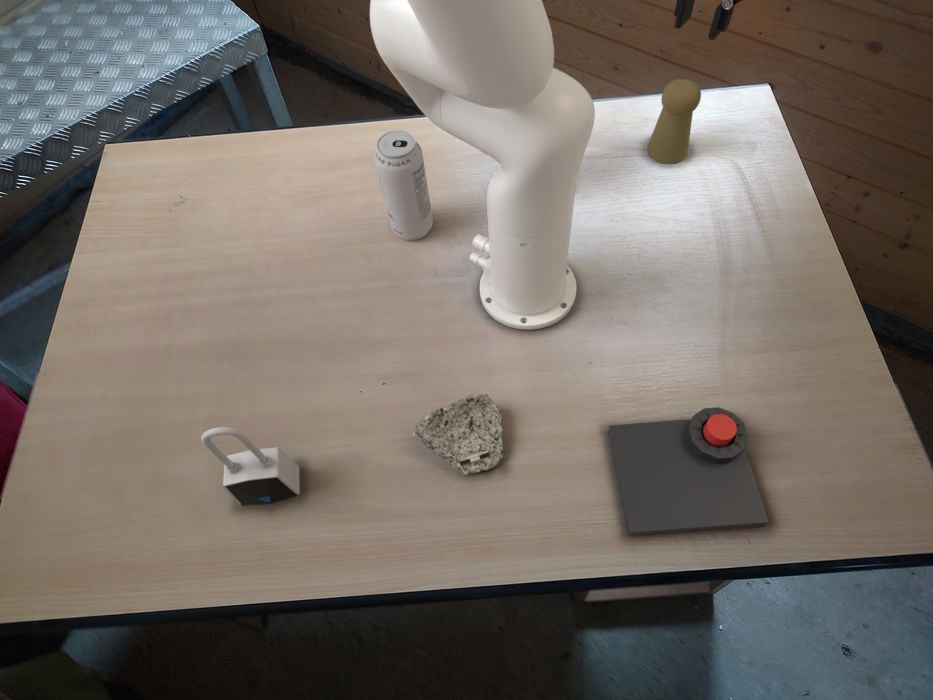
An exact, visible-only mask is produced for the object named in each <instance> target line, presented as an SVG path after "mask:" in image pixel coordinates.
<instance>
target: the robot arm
mask: <svg viewBox="0 0 933 700" xmlns="http://www.w3.org/2000/svg"><path fill="white" fill-rule="evenodd" d="M742 1H743V0H721V2H720V3H719V4H718V6H717V7H716V8H715V11H714V14H713V17H712V21H711V25H710V28H709V32H708V36H707V38H708V39H709V40H710V41H715V39H716V38H717V37H718V36H719V35H720V34H721V33H725V32H726V31H727V30H728V28H729V27H730V23H731V20H732V17H733V13H734V10H735V6H736V5H737V4H739V3H741V2H742ZM695 2H696V0H676V3H675V8H674V12H673V16H674V17H675V22H674V26H673V27H674V28H675V29H678V30H679V29H681V28H683V26H685V25H686V24H687V22H689V20H690V19H691V18H692V14H693V10H694V6H695ZM369 24H370V30H371V35H372V40H373V42H374V46H375V48H376V50H377V52H378V55H379V56H380V58H381V59H382V62H384V64H385V66H386V67H387V68H388V70H389V71H390V73H391V74H392V75H393V76H394V78H395V79H396V80H397V81H398V83H399V84H400V85H401V87H402V89H404V91H405V92H406V94H408V96H409V97H410V99H411V100H412V101H413V102H414V103H415V105H416V106H417V107H418V109H419V110H420V111H421V112H422V113H423V115H424V116H425V117H426V118H427V119H428V120H429V121H431V122H432V123H433V125H435V126H436V127H438V128H439V129H441V130H443V131H444V132H446V133H447V134H449V135H451V136H453V137H454V138H457V139H458V140H460V141H462V142H464V143H465V144H468V145H470V146H471V147H473V148H475V149H477V150H479V151H480V152H481V153H482V154H485V155H487V156H489V157H490V158H492V159H493V160H495V161H496V162H497V163H499V165H500V167H498V169H497V170H496V171H495V172H494V174H493V175H492V176H491V177H490V179H489V182H488V185H487V189H486V211H487V212H486V213H487V214H486V215H487V231H488V232H487V233H488V237H486V236H484V235H483V234H480V233H478V234H476V235H475V236H474V238H473V240H472V244H471V246H472V247H473V248H475V249H476V250H478V251H480V252H482V253H485V254H487V255H489V257H488V258H486V257H485V256H483V255H482V254H480V253H478V252H477V251H472V252H471V254H470V255H469V258H468V260H469V262H471V263H473V264H475V265H476V266H479V267H480V268H481V269H482V271H483V273H482V275H481V277H480V282H479V296H480V301H481V304H482V306H483V307H484V310H485V311H486V312H487V314H489V316H491V318H492V319H494V320H495V321H497V322H499V324H502V325H504V326H507V327H509V328H513V329H518V330H524V331H525V330H527V331H528V330H529V331H532V330H539V329H543V328H547V327H550V326H552V325H554V324H556V323H558V322H559V321H561V320H562V319H563V318H565V317H566V316H567V314H569V312H570V311H571V309H572V308H573V306H574V304H575V301H576V297H577V291H578V289H577V280H576V277H575V273H574V272H573V270H572V269H571V268H570V267H569V265H568V262H569V250H570V245H571V244H570V242H571V233H572V223H573V215H574V207H575V205H574V204H575V196H576V190H577V189H576V188H577V183H578V179H579V178H578V177H579V172H580V169H581V165H582V162H583V159H584V156H585V154H586V150H587V147H588V145H589V141H590V139H591V136H592V132H593V130H594V129H593V128H594V125H595V124H594V123H595V117H596V112H595V111H596V110H595V105H594V101H593V99H592V96H591V95H590V93H589V92H588V90H587V89H586V88H585V87H584V86H583V84H581V83H580V82H579V81H577V80H576V79H575V78H573V77H572V76H571V75H568V74H567V73H566V72H564V71H562V70H559V69H558V68H556V67H554V65H555V44H554V37H553V32H552V28H551V24H550V21H549V18H548V15H547V11H546V8H545V6H544V2H543V0H370V3H369Z"/></svg>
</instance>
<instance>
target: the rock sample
mask: <svg viewBox="0 0 933 700" xmlns="http://www.w3.org/2000/svg"><path fill="white" fill-rule="evenodd" d="M501 413H502V411H500V410H499V406H497V405H496V403H495V402H494V400H493V398H491V397H490V396H489V395H488V394H487V393H483V392H481V393H478V392H474V393H473V394H470V395H468V396H466V397H463V398H461V399H458V400H456V401H454V402H452V403H451V404H449V405H448V406H444V407H441V408H439V409H435V410H433V411H431V412H429V413H427V414H426V415H425V416H424V417H422V418H421V419H420V421H419V422H418V423H417V424H416V425H415V427H413V428H414V431H413V433H412V436H413V437H418V439H420V441H421V442H422V443H423V445H424V446H426V447H427V449H429V450H431V451H432V452H433V454H435V455H436V456H438V457H439V458H442V459H443V460H445V461H446V462H447V463H446V465H448V464H449V465H450V466H451V467H452V468H453V469H455V470H457V471H459V472H460V473H461V474H462V475H464V476H465V475H472V474H475V473H481V472H483V471H486V472H488V471H489V470H491V469H493V468H495V467H496V466H497V465H498V464H499V462H501V460H502V459H503V457H504V452H505V450H504V443H503V439H502V436H503V434H504V432H505V431H506V430H505V429H504V428H503V426H502V425H501V422H502V419H503V418H502V414H501Z"/></svg>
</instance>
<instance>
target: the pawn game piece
mask: <svg viewBox="0 0 933 700" xmlns="http://www.w3.org/2000/svg"><path fill="white" fill-rule="evenodd" d="M701 99H702V91H701V89H700V86H699V85H698V84H697V83H696V82H694V81H692V80H689V79H686V78H685V79H684V78H680V79H673V80H672V81H670V82H668V84H667V85H666V86H665V87H664V88H663V91H662V94H661V104H662V105H661V106H662V109H661V110H660V114H659V115H658V118H657V121H656V123H655V126H654V129H653V131H652V134H651V136H650V138H649V141H648V144H647V146H646V152H647V155H648V156H649V158H651V159H652V160H653V161H655V162H657V163H660V164H665V165H675V164H678V163H681V162H682V161H684V160H685V159H686V158H687V156H688V152H689V144H690V139H691V138H690V136H691V130H692V122H693V115H694V111H695V110H696V109H697V108H698V106H699V105H700V102H701Z"/></svg>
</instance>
